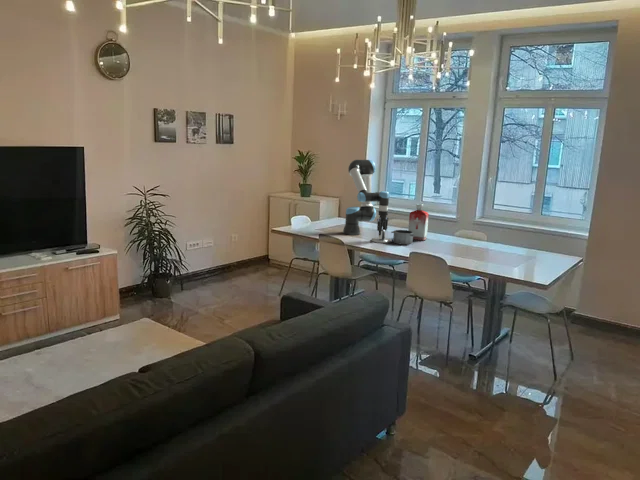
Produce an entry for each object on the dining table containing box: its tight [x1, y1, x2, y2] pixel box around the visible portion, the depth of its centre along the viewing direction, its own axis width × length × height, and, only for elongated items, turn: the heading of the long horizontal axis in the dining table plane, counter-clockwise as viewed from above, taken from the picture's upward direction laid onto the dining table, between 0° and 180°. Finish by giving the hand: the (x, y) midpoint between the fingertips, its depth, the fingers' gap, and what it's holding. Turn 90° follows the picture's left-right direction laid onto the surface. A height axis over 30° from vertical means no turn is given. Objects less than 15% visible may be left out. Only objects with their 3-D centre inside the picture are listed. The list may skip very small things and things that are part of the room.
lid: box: [371, 228, 393, 244], centre depth 422 cm, size 16×16×10 cm
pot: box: [390, 229, 416, 246], centre depth 420 cm, size 21×16×9 cm
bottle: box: [407, 203, 430, 242], centre depth 433 cm, size 14×10×30 cm
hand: (381, 238), depth 423 cm, fingers closed on lid, 4 cm apart
